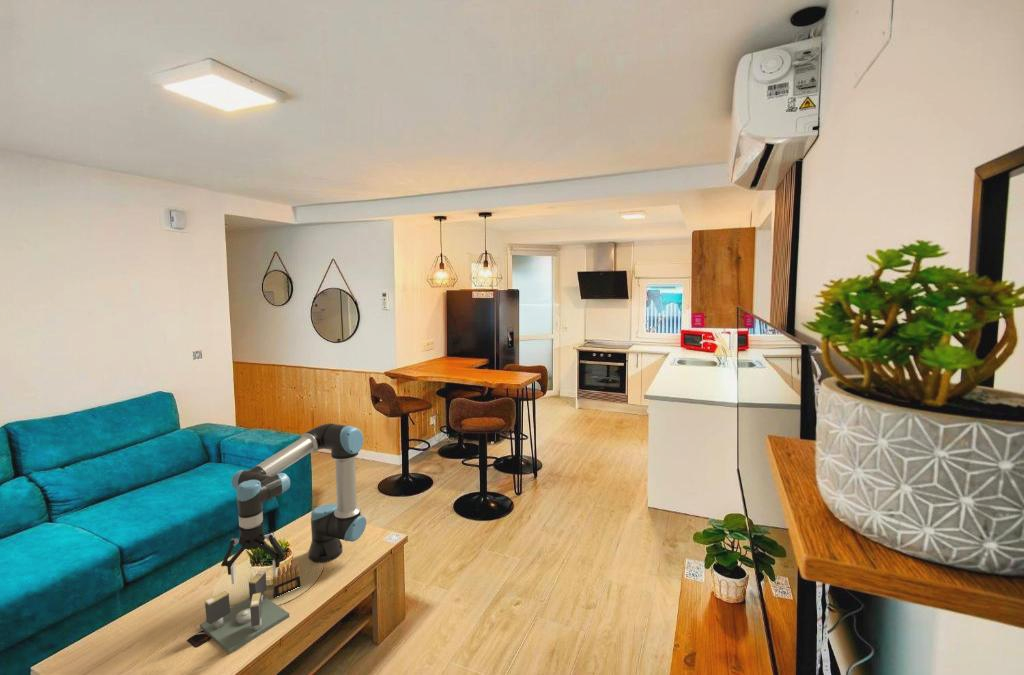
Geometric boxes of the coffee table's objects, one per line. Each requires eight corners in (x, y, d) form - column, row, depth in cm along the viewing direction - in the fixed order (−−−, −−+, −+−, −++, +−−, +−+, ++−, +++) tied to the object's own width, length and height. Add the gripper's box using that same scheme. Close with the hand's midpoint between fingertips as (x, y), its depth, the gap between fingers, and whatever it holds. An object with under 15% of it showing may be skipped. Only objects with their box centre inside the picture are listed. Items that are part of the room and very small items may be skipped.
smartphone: (185, 639, 167) (228, 614, 180) (186, 641, 167) (228, 615, 180) (196, 647, 163) (239, 621, 176) (196, 649, 163) (239, 622, 176)
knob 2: (253, 622, 174) (252, 593, 172) (262, 620, 175) (261, 591, 173) (251, 635, 167) (249, 605, 166) (260, 633, 168) (259, 603, 167)
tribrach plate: (259, 595, 191) (258, 586, 190) (289, 616, 179) (288, 607, 178) (200, 628, 173) (199, 617, 172) (229, 654, 161) (228, 643, 160)
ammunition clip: (274, 598, 189) (272, 571, 188) (272, 596, 191) (271, 569, 189) (301, 586, 197) (299, 560, 195) (299, 584, 198) (298, 558, 197)
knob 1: (226, 618, 176) (224, 590, 174) (230, 621, 174) (229, 592, 173) (206, 630, 170) (204, 600, 168) (211, 633, 168) (209, 603, 167)
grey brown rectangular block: (257, 609, 181) (255, 581, 179) (249, 609, 181) (248, 581, 179) (267, 597, 187) (266, 570, 186) (260, 597, 188) (259, 570, 186)
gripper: (290, 514, 174) (293, 566, 176) (215, 523, 166) (219, 578, 169) (287, 524, 166) (290, 578, 169) (208, 534, 159) (212, 591, 162)
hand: (255, 578), depth 169 cm, fingers open, 13 cm apart
